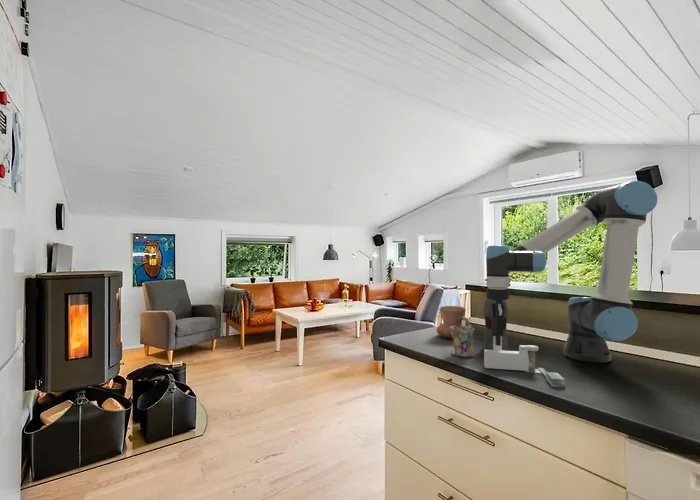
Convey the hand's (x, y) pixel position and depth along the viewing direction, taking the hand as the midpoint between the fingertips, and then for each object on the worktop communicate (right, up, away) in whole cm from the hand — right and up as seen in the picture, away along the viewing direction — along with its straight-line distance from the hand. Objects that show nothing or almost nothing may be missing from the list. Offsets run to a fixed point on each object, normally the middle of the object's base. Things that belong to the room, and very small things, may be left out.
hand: (497, 353), depth 126 cm
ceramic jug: (-4, -5, +40) cm, 40 cm away
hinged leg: (+2, -3, -6) cm, 7 cm away
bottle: (+8, -4, +20) cm, 22 cm away
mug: (-9, -4, +12) cm, 16 cm away
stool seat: (+6, -4, -6) cm, 10 cm away
